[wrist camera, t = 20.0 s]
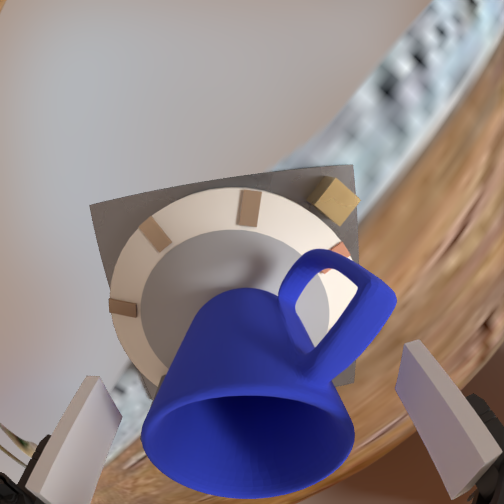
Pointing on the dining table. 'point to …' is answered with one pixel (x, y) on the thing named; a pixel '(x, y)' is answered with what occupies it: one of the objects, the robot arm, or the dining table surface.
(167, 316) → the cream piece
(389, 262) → the dining table surface
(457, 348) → the dining table surface
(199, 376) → the mug
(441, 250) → the dining table surface
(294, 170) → the bearing plate
